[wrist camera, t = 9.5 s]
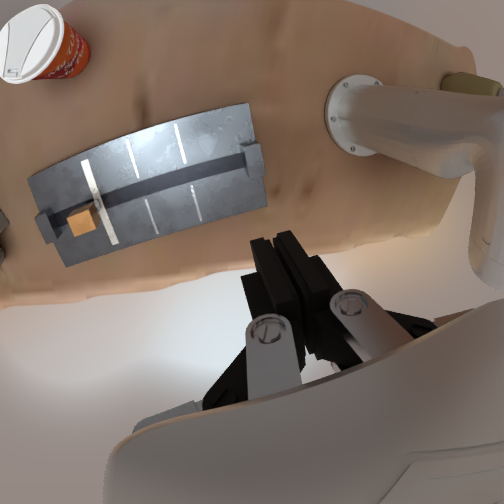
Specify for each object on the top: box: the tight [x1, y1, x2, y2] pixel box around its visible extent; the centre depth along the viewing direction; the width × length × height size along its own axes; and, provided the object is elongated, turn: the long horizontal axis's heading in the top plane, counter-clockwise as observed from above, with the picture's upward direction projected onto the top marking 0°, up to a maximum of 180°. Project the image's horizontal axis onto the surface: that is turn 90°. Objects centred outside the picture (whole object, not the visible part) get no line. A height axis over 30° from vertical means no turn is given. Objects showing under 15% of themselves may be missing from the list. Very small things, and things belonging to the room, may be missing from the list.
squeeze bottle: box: [441, 72, 504, 97], centre depth 31 cm, size 8×8×18 cm
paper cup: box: [0, 4, 90, 84], centre depth 19 cm, size 8×8×14 cm
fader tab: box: [67, 200, 101, 237], centre depth 31 cm, size 3×2×5 cm
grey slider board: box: [27, 103, 267, 268], centre depth 34 cm, size 30×14×4 cm, turn 101°
